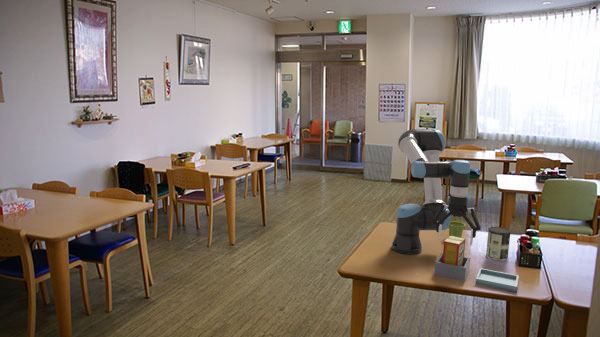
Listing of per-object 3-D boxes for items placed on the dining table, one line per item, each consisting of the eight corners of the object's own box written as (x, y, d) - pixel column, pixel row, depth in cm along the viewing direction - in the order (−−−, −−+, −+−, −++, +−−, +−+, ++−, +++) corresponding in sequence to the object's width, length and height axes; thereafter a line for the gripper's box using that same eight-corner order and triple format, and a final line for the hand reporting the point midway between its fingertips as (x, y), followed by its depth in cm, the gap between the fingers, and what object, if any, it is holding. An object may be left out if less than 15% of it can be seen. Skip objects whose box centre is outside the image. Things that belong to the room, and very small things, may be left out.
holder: (434, 274, 204) (435, 262, 203) (440, 264, 216) (441, 252, 215) (464, 281, 198) (465, 268, 197) (469, 270, 210) (470, 258, 209)
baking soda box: (455, 277, 202) (458, 243, 199) (441, 274, 205) (444, 240, 203) (462, 271, 209) (465, 237, 206) (448, 267, 213) (451, 234, 210)
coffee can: (505, 254, 232) (508, 227, 229) (510, 261, 222) (513, 233, 219) (483, 252, 234) (486, 225, 231) (487, 259, 224) (490, 232, 221)
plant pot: (443, 236, 258) (444, 221, 257) (459, 235, 259) (460, 221, 258) (450, 241, 249) (451, 226, 247) (467, 241, 250) (468, 226, 248)
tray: (475, 283, 196) (476, 278, 195) (479, 273, 207) (479, 268, 207) (516, 292, 188) (517, 286, 188) (518, 280, 200) (518, 275, 199)
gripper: (428, 193, 203) (424, 239, 207) (488, 200, 192) (483, 249, 195) (431, 190, 210) (428, 234, 213) (490, 197, 198) (485, 244, 202)
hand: (455, 241), depth 204 cm, fingers open, 13 cm apart
